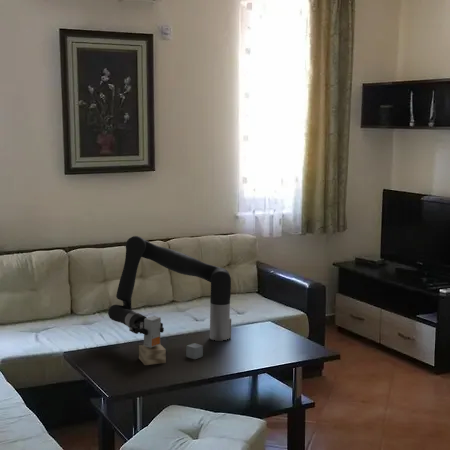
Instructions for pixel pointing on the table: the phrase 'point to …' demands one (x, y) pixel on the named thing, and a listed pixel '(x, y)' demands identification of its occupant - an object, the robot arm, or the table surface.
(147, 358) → the beech block
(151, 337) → the skincare box
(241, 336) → the table surface
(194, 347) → the slate block
